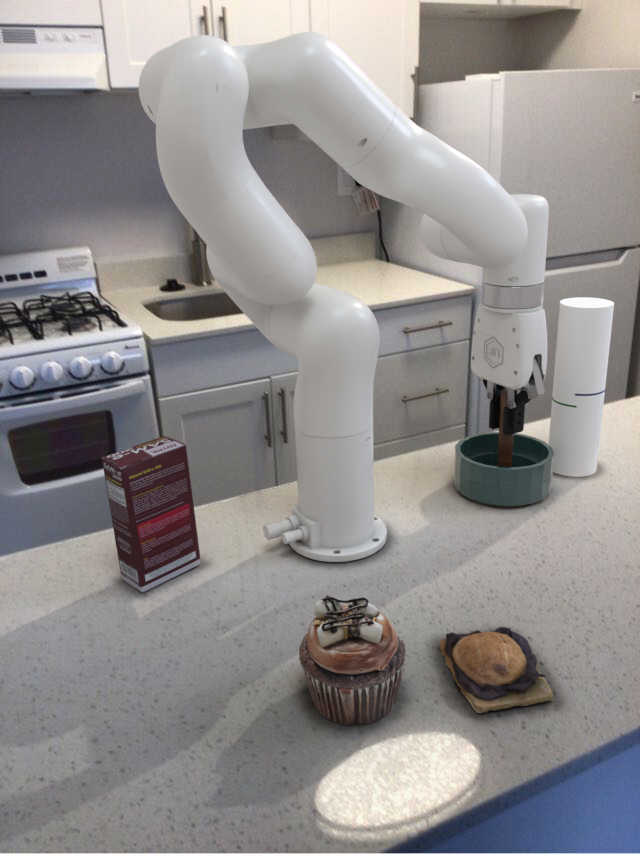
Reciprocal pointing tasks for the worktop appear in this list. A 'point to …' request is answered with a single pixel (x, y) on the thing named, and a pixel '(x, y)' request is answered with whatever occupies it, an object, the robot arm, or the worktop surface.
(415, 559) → the worktop surface
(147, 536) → the supplement box
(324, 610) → the cupcake
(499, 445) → the paper towel holder
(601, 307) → the cylindrical container
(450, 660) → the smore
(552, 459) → the bowl
